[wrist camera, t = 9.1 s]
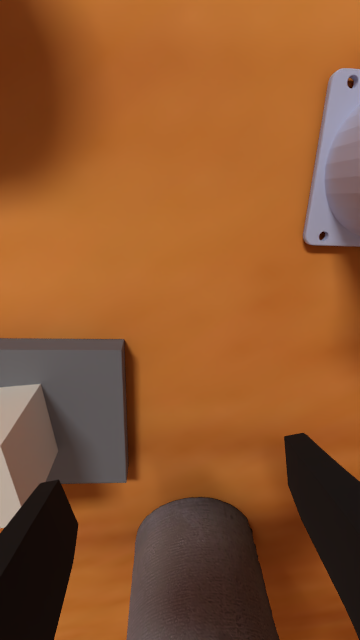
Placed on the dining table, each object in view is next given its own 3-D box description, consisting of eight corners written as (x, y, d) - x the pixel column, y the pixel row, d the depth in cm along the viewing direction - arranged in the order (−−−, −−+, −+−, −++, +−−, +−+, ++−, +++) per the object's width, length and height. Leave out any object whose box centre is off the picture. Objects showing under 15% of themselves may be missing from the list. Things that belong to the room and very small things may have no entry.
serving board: (124, 339, 20) (121, 350, 18) (128, 465, 23) (126, 482, 22) (-117, 337, 19) (-140, 348, 17) (-74, 468, 22) (-90, 486, 21)
